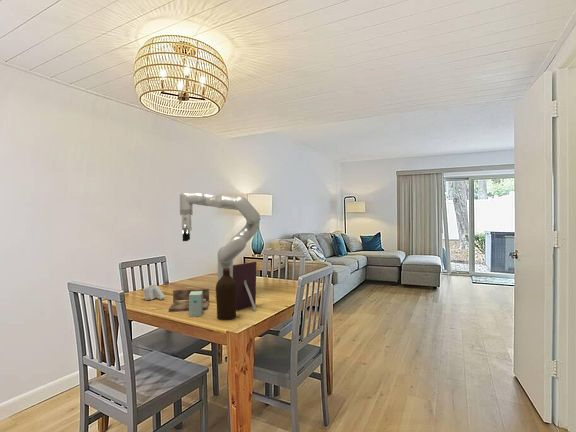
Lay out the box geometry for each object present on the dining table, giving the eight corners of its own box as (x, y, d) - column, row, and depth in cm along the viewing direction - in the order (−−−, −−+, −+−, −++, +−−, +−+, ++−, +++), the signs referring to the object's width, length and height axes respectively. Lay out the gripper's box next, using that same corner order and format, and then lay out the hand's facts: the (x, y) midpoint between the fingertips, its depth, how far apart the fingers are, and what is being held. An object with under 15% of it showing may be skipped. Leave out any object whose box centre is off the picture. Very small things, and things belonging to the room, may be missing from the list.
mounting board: (209, 303, 189) (209, 288, 189) (206, 310, 175) (206, 294, 175) (173, 304, 186) (173, 290, 186) (168, 311, 172) (168, 296, 172)
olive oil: (239, 318, 160) (239, 268, 160) (218, 321, 156) (218, 270, 156) (234, 312, 170) (234, 265, 170) (214, 315, 166) (213, 267, 166)
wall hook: (161, 300, 192) (157, 284, 193) (146, 303, 194) (142, 287, 195) (169, 297, 200) (165, 281, 201) (154, 300, 202) (151, 284, 203)
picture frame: (254, 304, 185) (253, 261, 185) (266, 307, 179) (266, 262, 179) (231, 311, 173) (231, 264, 172) (244, 315, 166) (244, 266, 166)
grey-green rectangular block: (202, 311, 173) (202, 290, 173) (201, 316, 164) (200, 294, 164) (191, 311, 172) (191, 291, 172) (188, 317, 163) (188, 295, 163)
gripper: (191, 212, 191) (191, 241, 191) (193, 212, 208) (194, 239, 208) (177, 212, 190) (178, 241, 190) (181, 212, 207) (181, 239, 207)
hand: (186, 240), depth 199 cm, fingers open, 9 cm apart
